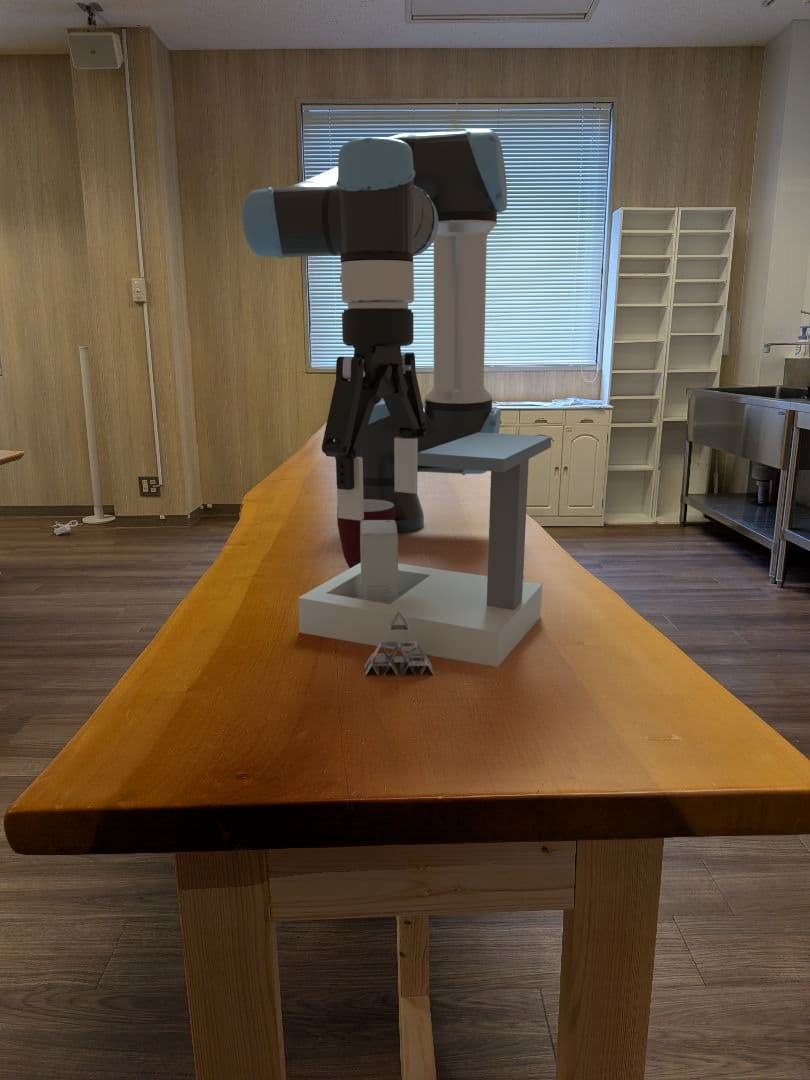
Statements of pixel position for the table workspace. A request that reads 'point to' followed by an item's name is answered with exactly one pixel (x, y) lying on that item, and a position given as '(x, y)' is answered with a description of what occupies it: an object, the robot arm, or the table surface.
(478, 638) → the socket block
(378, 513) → the mug
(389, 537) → the skincare box
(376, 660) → the house of cards
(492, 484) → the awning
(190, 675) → the table surface
